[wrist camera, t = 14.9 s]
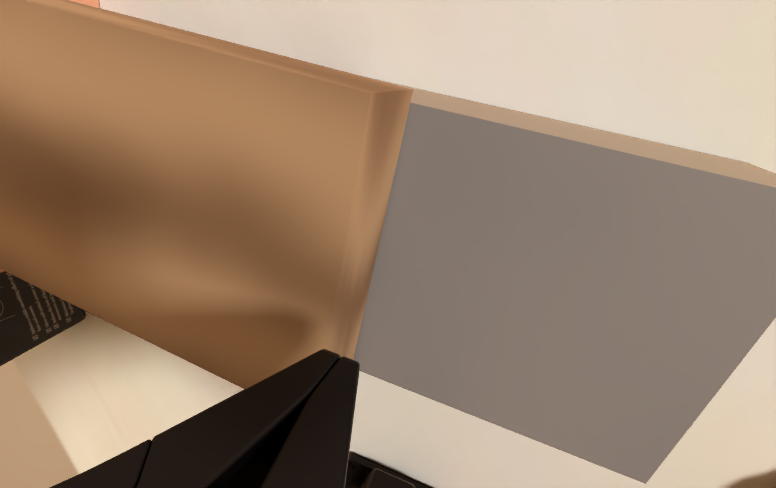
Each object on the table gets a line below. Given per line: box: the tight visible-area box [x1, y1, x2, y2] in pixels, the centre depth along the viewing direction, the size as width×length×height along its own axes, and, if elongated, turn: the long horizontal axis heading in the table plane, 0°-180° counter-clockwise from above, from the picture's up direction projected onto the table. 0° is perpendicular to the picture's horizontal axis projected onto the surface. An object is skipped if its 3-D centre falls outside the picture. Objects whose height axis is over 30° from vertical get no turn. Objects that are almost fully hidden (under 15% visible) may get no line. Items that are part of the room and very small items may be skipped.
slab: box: [0, 0, 413, 389], centre depth 13 cm, size 10×16×3 cm, turn 78°
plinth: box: [353, 78, 776, 484], centre depth 14 cm, size 10×14×5 cm
